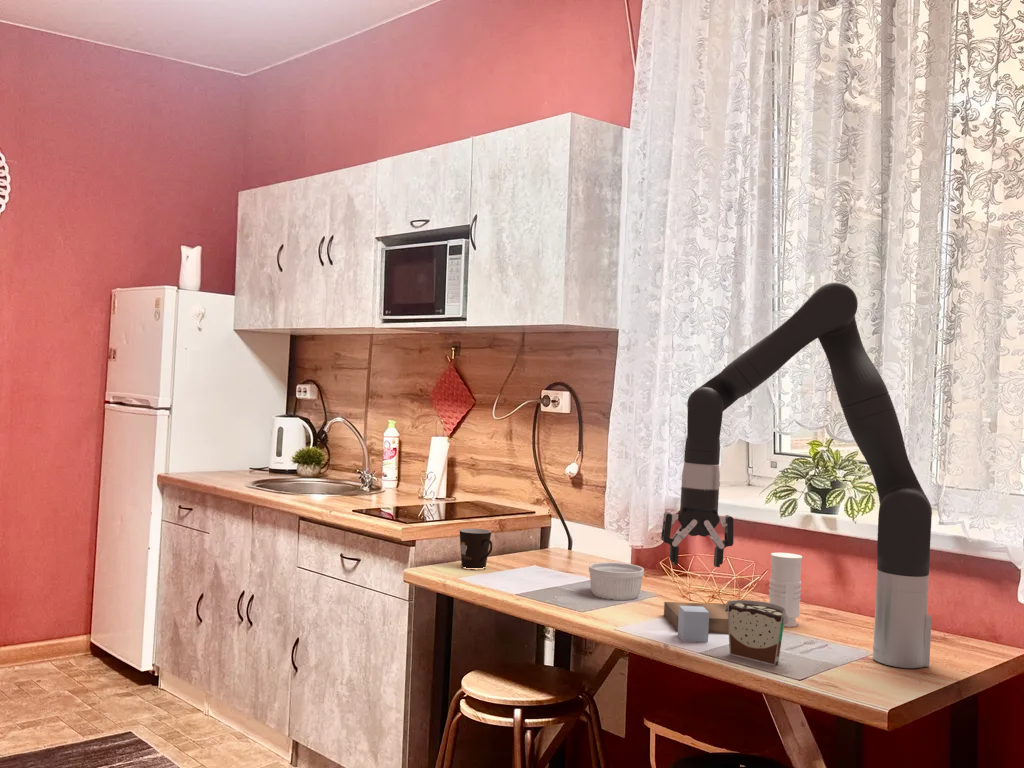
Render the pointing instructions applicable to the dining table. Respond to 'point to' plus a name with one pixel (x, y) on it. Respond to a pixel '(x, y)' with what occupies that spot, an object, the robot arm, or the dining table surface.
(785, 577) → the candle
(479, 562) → the coffee mug
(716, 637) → the dining table surface
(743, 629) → the food container
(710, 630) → the walnut plinth
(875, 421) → the robot arm
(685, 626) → the gray block
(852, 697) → the dining table surface
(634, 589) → the ramekin
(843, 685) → the dining table surface
